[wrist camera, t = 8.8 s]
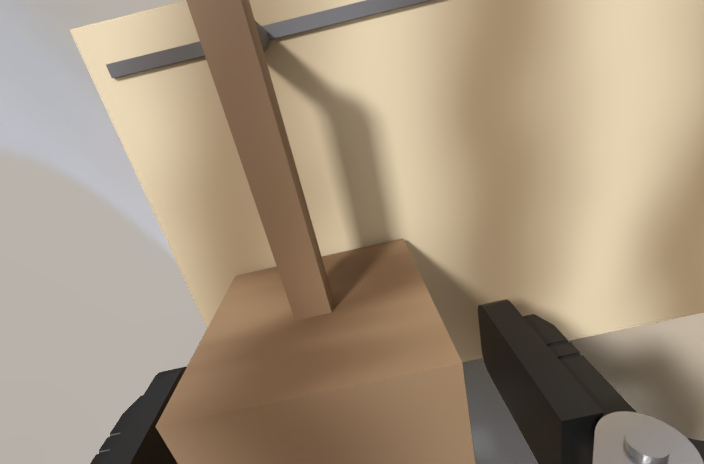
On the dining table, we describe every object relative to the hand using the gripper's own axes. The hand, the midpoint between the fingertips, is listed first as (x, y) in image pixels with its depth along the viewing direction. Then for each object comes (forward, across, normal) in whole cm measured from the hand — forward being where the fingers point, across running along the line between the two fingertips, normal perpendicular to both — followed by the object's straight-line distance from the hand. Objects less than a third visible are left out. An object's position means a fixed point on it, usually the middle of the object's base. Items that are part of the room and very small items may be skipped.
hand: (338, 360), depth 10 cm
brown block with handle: (+3, 0, -2) cm, 4 cm away
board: (+4, -6, -3) cm, 8 cm away
